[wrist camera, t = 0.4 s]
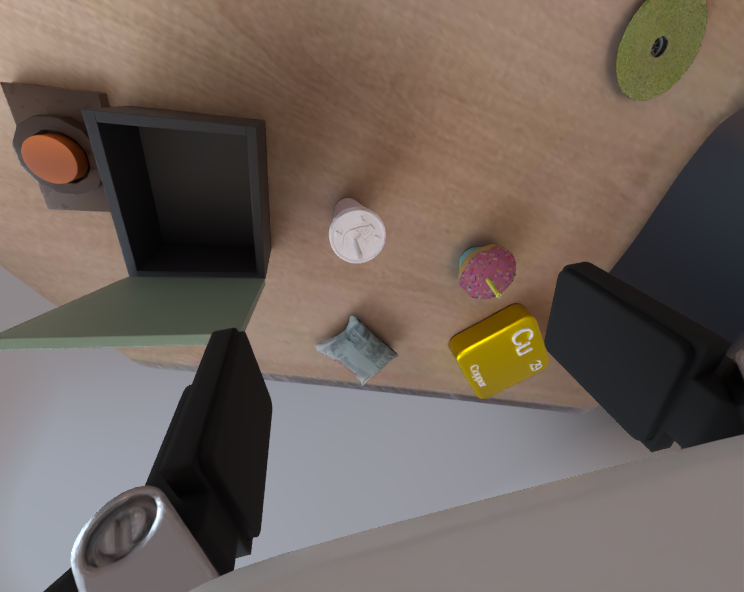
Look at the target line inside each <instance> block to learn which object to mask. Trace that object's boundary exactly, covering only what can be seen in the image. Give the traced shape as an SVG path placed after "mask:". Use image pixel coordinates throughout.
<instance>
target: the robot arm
mask: <svg viewBox="0 0 744 592" xmlns="http://www.w3.org/2000/svg"><path fill="white" fill-rule="evenodd" d="M544 343H545V347H546V349H547V351H548V352H549V353H550V354H551V355H552V356H553V357H554V358H555V359H556V360H557V361H558V362H559V363H560V364H561V365H562V366H563V367H564V368H565V369H566V370H567V371H568V372H569V373H570V374H571V375H572V376H573V378H574V379H575V380H576V381H577V382H578V383H579V384H580V385H581V386H582V387H583V388H584V389H585V390H586V391H587V392H588V393H589V394H590V395H591V396H592V397H593V398H594V399H595V400H596V401H597V402H598V403H599V404H600V405H601V406H602V407H603V408H604V409H605V410H606V411H607V412H608V413H609V414H610V415H611V416H612V417H613V418H614V419H615V420H616V421H617V422H618V423H619V424H620V425H621V426H622V427H623V428H624V429H625V430H626V431H627V433H629V435H631V436H632V437H633V438H634V439H636V440H639V441H641V442H642V443H643V444H644V445H645V446H646V447H647V448H648V449H649V450H650V451H651V452H654V451H658V450H662V449H666V448H670V447H671V445H672V444H673V442H674V441H675V442H677V443H678V444H679V445H680V446H681V450H677V451H673V452H669V453H665V454H662V455H657V456H653V457H649V458H645V459H641V460H637V461H634V462H629V463H626V464H622V465H617V466H614V467H609V468H605V469H602V470H598V471H594V472H590V473H586V474H582V475H578V476H574V477H570V478H566V479H562V480H559V481H555V482H551V483H547V484H543V485H539V486H535V487H531V488H527V489H524V490H520V491H516V492H512V493H508V494H504V495H501V496H496V497H492V498H488V499H485V500H481V501H477V502H473V503H469V504H466V505H462V506H458V507H454V508H450V509H446V510H443V511H439V512H435V513H431V514H428V515H424V516H420V517H416V518H412V519H408V520H404V521H401V522H397V523H393V524H389V525H386V526H382V527H378V528H374V529H371V530H366V531H363V532H359V533H356V534H352V535H349V536H345V537H341V538H338V539H334V540H331V541H327V542H323V543H320V544H317V545H313V546H309V547H306V548H302V549H299V550H295V551H291V552H288V553H284V554H281V555H278V556H275V557H272V558H269V559H266V560H263V561H260V562H257V563H254V564H251V565H248V566H245V567H242V568H239V569H236V570H234V565H235V559H236V558H239V557H242V556H246V555H250V554H251V549H252V540H253V538H254V537H258V536H259V534H260V531H261V522H262V512H263V502H264V501H263V500H264V491H265V481H266V470H267V460H268V450H269V439H270V429H271V419H272V402H271V398H270V395H269V392H268V390H267V387H266V385H265V382H264V379H263V377H262V374H261V371H260V369H259V366H258V363H257V361H256V358H255V356H254V353H253V350H252V348H251V345H250V342H249V340H248V337H247V335H246V333H245V332H244V331H241V332H239V331H238V330H237V328H235V327H234V328H228V329H223V330H218V331H214V332H212V334H211V337H210V339H209V342H208V344H207V347H206V350H205V352H204V355H203V357H202V360H201V362H200V365H199V368H198V370H197V373H196V375H195V378H194V381H193V383H192V385H189V386H187V387H186V388H185V390H184V392H183V394H182V396H181V399H180V401H179V403H178V406H177V408H176V411H175V413H174V416H173V418H172V421H171V423H170V425H169V428H168V431H167V433H166V435H165V438H164V440H163V443H162V445H161V447H160V450H159V452H158V455H157V458H156V460H155V462H154V465H153V467H152V470H151V472H150V474H149V477H148V479H147V482H146V484H145V486H141V487H135V488H133V489H130V490H128V491H126V492H123V493H121V494H120V495H118V496H117V497H115V498H113V499H112V500H110V501H109V502H107V503H106V504H105V505H104V506H103V507H102V508H101V509H99V510H98V511H97V512H96V513H95V514H94V515H93V516H92V518H91V519H90V520H89V521H88V522H87V524H86V525H85V526H84V527H83V529H82V531H81V532H80V534H79V536H78V538H77V539H76V541H75V544H74V547H73V550H72V553H71V568H70V569H69V570H68V571H66V572H65V573H64V574H63V575H62V576H61V577H60V578H58V579H57V580H56V581H55V582H54V583H53V584H52V585H50V586H49V587H48V588H47V589H46V590H45V591H44V592H744V349H743V350H740V351H738V353H737V354H736V355H735V357H734V358H733V360H732V359H731V358H729V357H727V356H726V355H725V354H726V353H727V350H728V349H729V347H730V346H731V344H732V342H730V341H728V340H727V339H725V338H723V337H721V336H720V335H718V334H716V333H714V332H712V331H711V330H709V329H707V328H705V327H704V326H702V325H700V324H698V323H696V322H695V321H693V320H691V319H689V318H688V317H686V316H684V315H682V314H680V313H679V312H677V311H675V310H673V309H671V308H670V307H668V306H666V305H664V304H663V303H661V302H659V301H657V300H655V299H654V298H652V297H650V296H648V295H647V294H645V293H643V292H641V291H639V290H638V289H636V288H634V287H632V286H631V285H629V284H627V283H625V282H623V281H622V280H620V279H618V278H616V277H615V276H613V275H611V274H609V273H607V272H606V271H604V270H602V269H600V268H599V267H597V266H595V265H593V264H591V263H589V262H581V263H576V264H570V265H567V266H565V267H564V268H563V270H562V271H561V272H560V273H559V275H558V279H557V283H556V288H555V293H554V298H553V302H552V307H551V312H550V316H549V321H548V326H547V331H546V335H545V341H544ZM233 570H234V571H233Z"/></svg>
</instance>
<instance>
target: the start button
mask: <svg viewBox="0 0 744 592" xmlns="http://www.w3.org/2000/svg"><path fill="white" fill-rule="evenodd" d="M21 153H22V157H23V159H24V162H25V163H26V165H27V166H28V168H29V169H30V170H31V171H32V172H33V173H34V174H36V175H37V176H39V177H40V178H42V179H44V180H46V181H48V182H51V183H57V184H64V183H68V182H71V181H74V180H76V179H79V178H81V177H83V176H84V175H85V173H86V172H87V169H88V160H87V157H86V155H85V153H84V151H83V150H82V149H81V147H80V146H79V145H78V144H77V143H75V142H74V141H73V140H71V139H70V138H68V137H66V136H64V135H61V134H57V133H46V134H40V135H34V136H31V137H28V138H27V139H26V140H25V141H24V142H23V144H22V148H21Z"/></svg>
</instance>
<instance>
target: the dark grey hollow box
mask: <svg viewBox="0 0 744 592" xmlns="http://www.w3.org/2000/svg"><path fill="white" fill-rule="evenodd" d="M81 110H82V114H83V117H84V121H85V124H86V128H87V131H88V135H89V138H90V142H91V145H92V149H93V152H94V156H95V159H96V163H97V166H98V169H99V173H100V176H101V180H102V183H103V187H104V190H105V194H106V197H107V201H108V204H109V208H110V211H111V215H112V218H113V222H114V225H115V229H116V232H117V236H118V239H119V243H120V246H121V249H122V253H123V256H124V260H125V263H126V267H127V270H128V274H129V277H177V278H259V279H265V278H266V273H267V268H268V263H269V258H270V253H271V235H270V213H269V192H268V170H267V149H266V127H265V120H256V119H246V118H237V117H228V116H218V115H209V114H200V113H190V112H181V111H172V110H162V109H153V108H144V107H134V106H119V107H103V108H87V109H81Z"/></svg>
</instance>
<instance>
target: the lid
mask: <svg viewBox="0 0 744 592" xmlns="http://www.w3.org/2000/svg"><path fill="white" fill-rule="evenodd" d="M264 286H265V279H259V278H177V277H126V278H124V279H122V280H119V281H117V282H115V283H113V284H110V285H108V286H106V287H103V288H101V289H99V290H97V291H94V292H92V293H90V294H87V295H85V296H83V297H81V298H78V299H76V300H74V301H71V302H69V303H67V304H65V305H62V306H60V307H58V308H55V309H53V310H51V311H49V312H46V313H44V314H42V315H39V316H37V317H35V318H33V319H30V320H28V321H26V322H24V323H21V324H19V325H17V326H14V327H12V328H10V329H8V330H5V331H3V332H1V333H0V350H32V349H69V348H107V347H144V346H182V345H207V344H208V342H209V339H210V337H211V334H212V332H214V331H218V330H223V329H228V328H234V327H235V328H237V330H238V331H239V332H241V331H244V332H245V330H246V327H247V325H248V323H249V320H250V318H251V316H252V313H253V311H254V309H255V307H256V304H257V302H258V300H259V297H260V295H261V293H262V290H263V288H264Z"/></svg>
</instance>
